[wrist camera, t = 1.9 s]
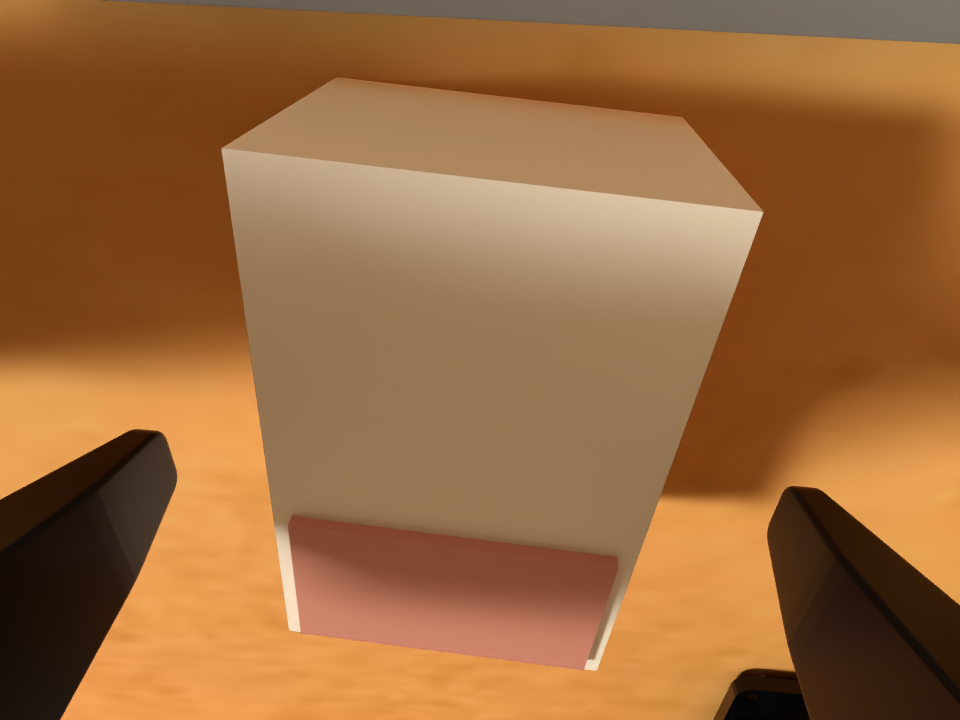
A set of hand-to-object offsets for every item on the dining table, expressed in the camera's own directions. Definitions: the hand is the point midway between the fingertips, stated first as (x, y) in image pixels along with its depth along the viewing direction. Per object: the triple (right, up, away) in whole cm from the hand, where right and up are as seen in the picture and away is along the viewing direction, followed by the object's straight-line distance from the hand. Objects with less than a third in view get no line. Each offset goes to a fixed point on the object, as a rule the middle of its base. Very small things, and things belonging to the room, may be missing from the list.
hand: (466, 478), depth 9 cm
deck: (0, +2, +3) cm, 4 cm away
